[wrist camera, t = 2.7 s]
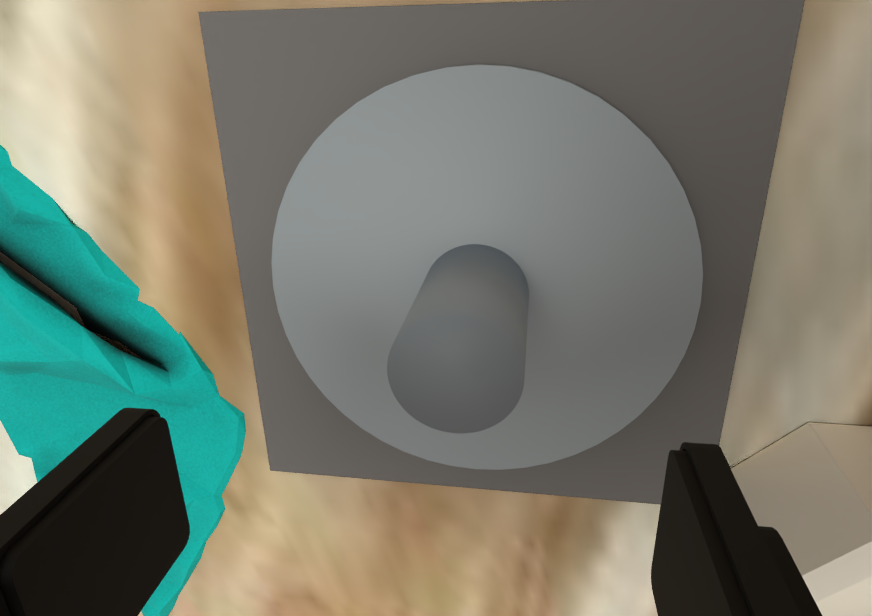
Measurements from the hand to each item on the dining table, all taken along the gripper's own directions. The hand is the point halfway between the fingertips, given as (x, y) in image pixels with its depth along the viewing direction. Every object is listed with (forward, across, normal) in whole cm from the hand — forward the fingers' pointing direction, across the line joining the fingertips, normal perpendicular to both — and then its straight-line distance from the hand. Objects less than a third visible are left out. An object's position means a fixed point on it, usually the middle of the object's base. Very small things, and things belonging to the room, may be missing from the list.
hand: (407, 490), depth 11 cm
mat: (+10, -1, -1) cm, 10 cm away
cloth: (+11, +15, +5) cm, 19 cm away
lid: (+9, -1, -1) cm, 9 cm away
